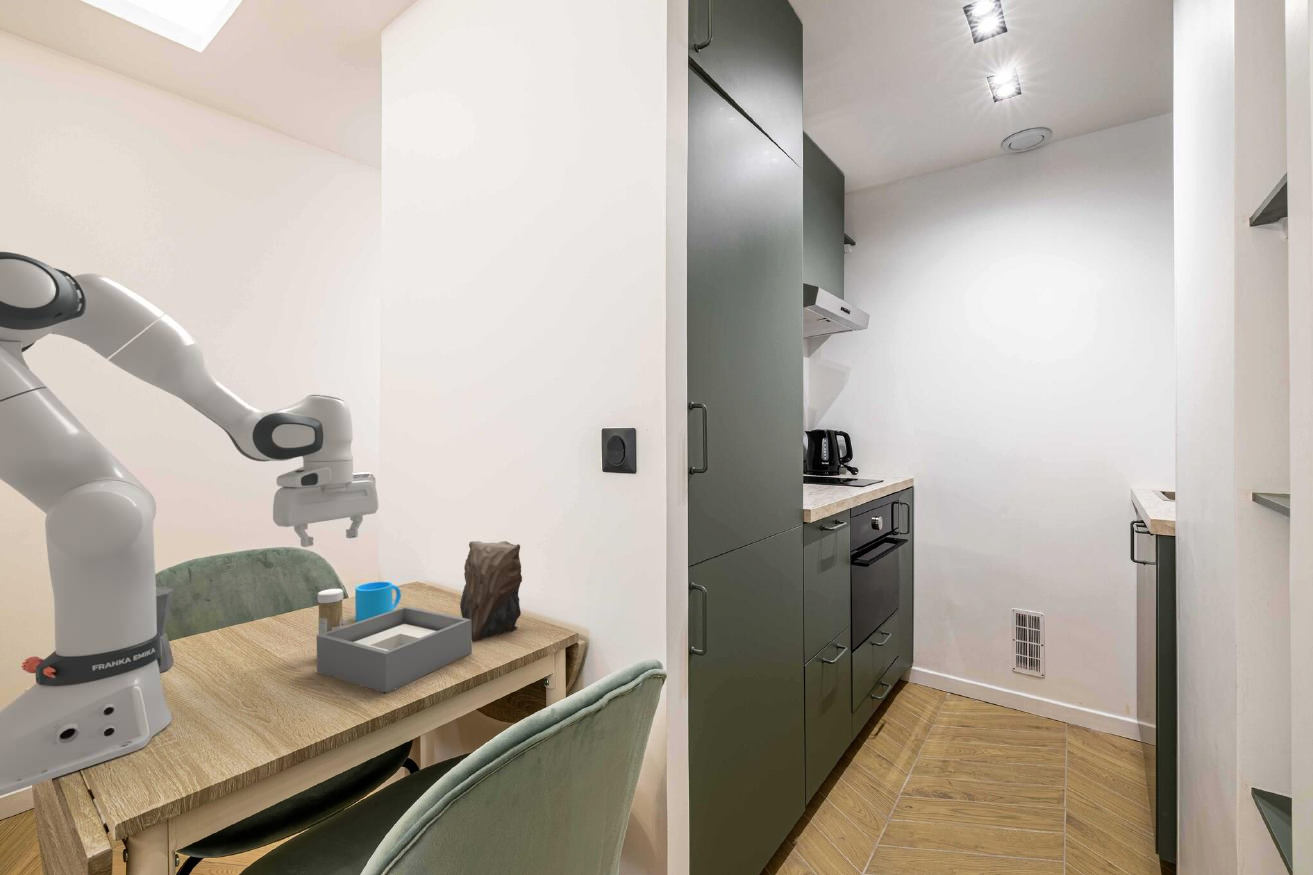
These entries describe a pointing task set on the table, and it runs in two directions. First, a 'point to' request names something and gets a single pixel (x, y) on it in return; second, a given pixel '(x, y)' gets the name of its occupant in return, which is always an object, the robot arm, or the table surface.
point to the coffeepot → (162, 619)
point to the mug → (375, 599)
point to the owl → (491, 588)
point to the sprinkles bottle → (330, 610)
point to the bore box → (393, 647)
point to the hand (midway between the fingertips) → (330, 541)
